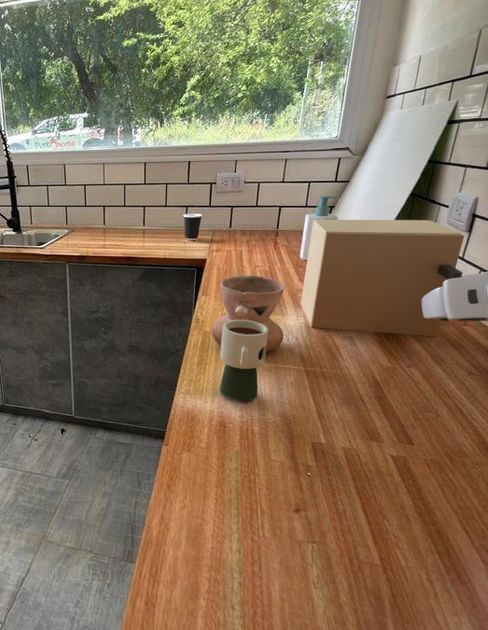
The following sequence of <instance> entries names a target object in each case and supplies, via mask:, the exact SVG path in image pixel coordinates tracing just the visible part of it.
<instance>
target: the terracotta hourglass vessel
mask: <svg viewBox="0 0 488 630" xmlns="http://www.w3.org/2000/svg"><path fill="white" fill-rule="evenodd" d="M284 290H285V286H284V284H283V283H281V282H280V281H278V280H276V279H273V278H271V277H264V276H261V275H253V274H252V275H244V274H243V275H233V276H229V277H225V278H223V279H222V280H221V281H220V294H221V300H222V302H223V306H224V307H225V311H226V313H227V314H225V315H223V316H221V317H219V318H218V319H216V320H215V321H214V322H213V324H212V326H211V328H210V332H211V335H212V338H213V339H214V341H215V342H216V343H217V344H218V345H220V346H221V341H222V329H223V325H224V323H226V322H228V321H232V320H249V321H254V322H258V323H261V324H263V325H265V326H266V327H267V328H268V336H267V344H266V353H268V352H271V351H273V350H275V349H277V348H278V347H279V346H280V345H281V344H282V343H283V340H284V332H283V329H282V328H281V326H280V325H279V324H278V323H276V321H274V320H272V319H271V318H270V317H271V316H272V314H273V313H274V311H275V310H276V308H277V306H278V304H279V302H280V301H281V299H282V296H283V294H284Z"/></svg>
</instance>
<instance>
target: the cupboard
mask: <svg viewBox="0 0 488 630" xmlns="http://www.w3.org/2000/svg"><path fill="white" fill-rule="evenodd" d="M326 233H385V234H450V235H462V233H461V232H458V231H457V230H454V229H451V228H450V227H447V226H445V225H442V224H439V223H438V222H435V221H433V220H430V219H426V220H425V219H423V220H422V219H419V220H418V219H337V220H313V226H312V233H311V240H310V246H309V253H308V259H307V261H306V267H305V273H304V280H303V286H302V293H301V298H300V299H301V300H300V305H301V307H302V309H303V313H304V314H305V317H306V319H307V321H308V324H309V325H310V327H311V322H312V316H313V309H314V303H315V297H316V291H317V285H318V279H319V273H320V267H321V261H322V254H323V248H324V242H325V236H326Z"/></svg>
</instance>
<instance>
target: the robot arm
mask: <svg viewBox="0 0 488 630" xmlns="http://www.w3.org/2000/svg"><path fill="white" fill-rule="evenodd" d="M422 311H423V316H424V318H426V319H440V318H448V320H449V321H451V322H453V321H454V322H455V321H458V322H488V271H485V272H481V273H475V274H470V275H465V276H462V277H458V278H453V279H448V280H445V281H444V282H443V287H439V288H436V289H434V290H432V291H431V292H429V293H428V294H426V295H425V296H424V297H423V298H422Z"/></svg>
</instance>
